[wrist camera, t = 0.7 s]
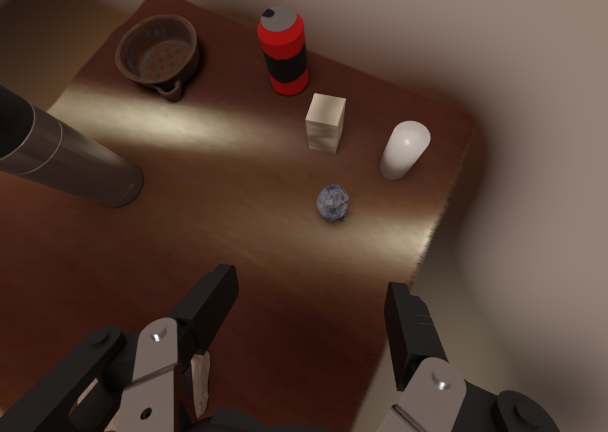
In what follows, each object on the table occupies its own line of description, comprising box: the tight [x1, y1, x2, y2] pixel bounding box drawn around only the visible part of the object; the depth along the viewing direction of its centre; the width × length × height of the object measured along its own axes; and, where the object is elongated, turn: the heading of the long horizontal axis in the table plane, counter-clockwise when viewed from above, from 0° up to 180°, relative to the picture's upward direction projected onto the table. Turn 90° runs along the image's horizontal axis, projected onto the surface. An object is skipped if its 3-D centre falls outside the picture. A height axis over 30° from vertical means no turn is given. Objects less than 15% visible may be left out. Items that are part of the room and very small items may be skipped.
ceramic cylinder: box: [378, 121, 430, 180], centre depth 36 cm, size 5×5×9 cm
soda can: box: [258, 5, 308, 95], centre depth 42 cm, size 8×8×12 cm
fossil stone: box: [316, 184, 349, 222], centre depth 34 cm, size 5×5×10 cm
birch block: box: [306, 93, 346, 154], centre depth 39 cm, size 5×5×8 cm
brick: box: [78, 351, 210, 431], centre depth 33 cm, size 17×8×5 cm, turn 95°
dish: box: [115, 15, 199, 100], centre depth 49 cm, size 18×22×5 cm
